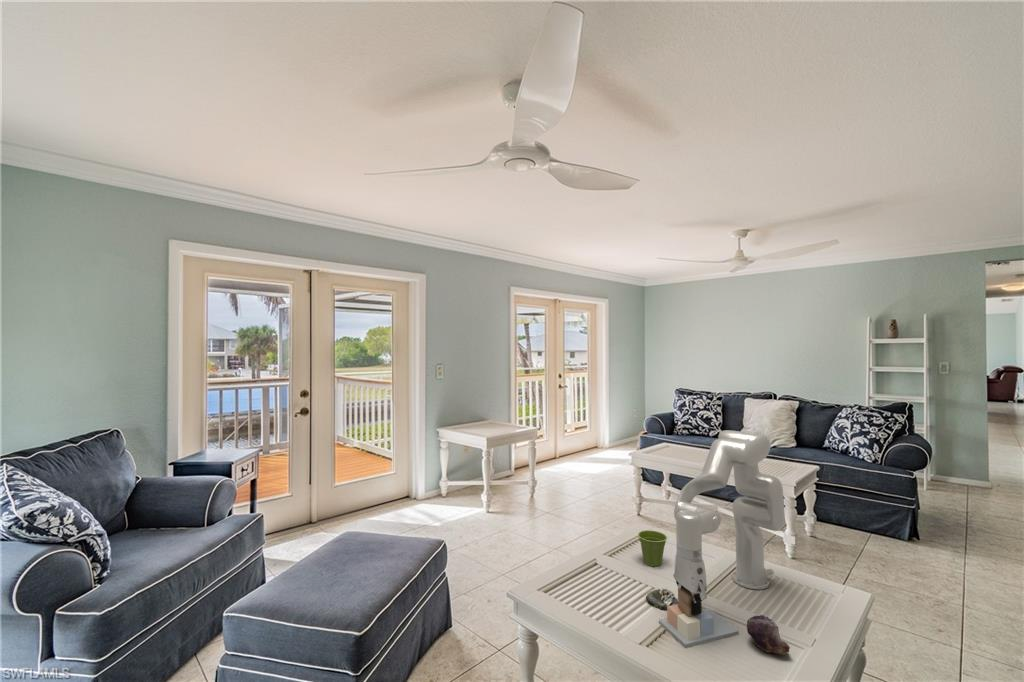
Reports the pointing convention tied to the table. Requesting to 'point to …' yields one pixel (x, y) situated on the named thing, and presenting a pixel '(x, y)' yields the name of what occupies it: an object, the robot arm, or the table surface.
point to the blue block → (705, 623)
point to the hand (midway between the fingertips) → (689, 608)
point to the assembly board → (720, 631)
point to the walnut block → (685, 601)
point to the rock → (766, 634)
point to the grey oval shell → (661, 599)
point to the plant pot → (652, 546)
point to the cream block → (688, 626)
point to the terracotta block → (673, 614)
